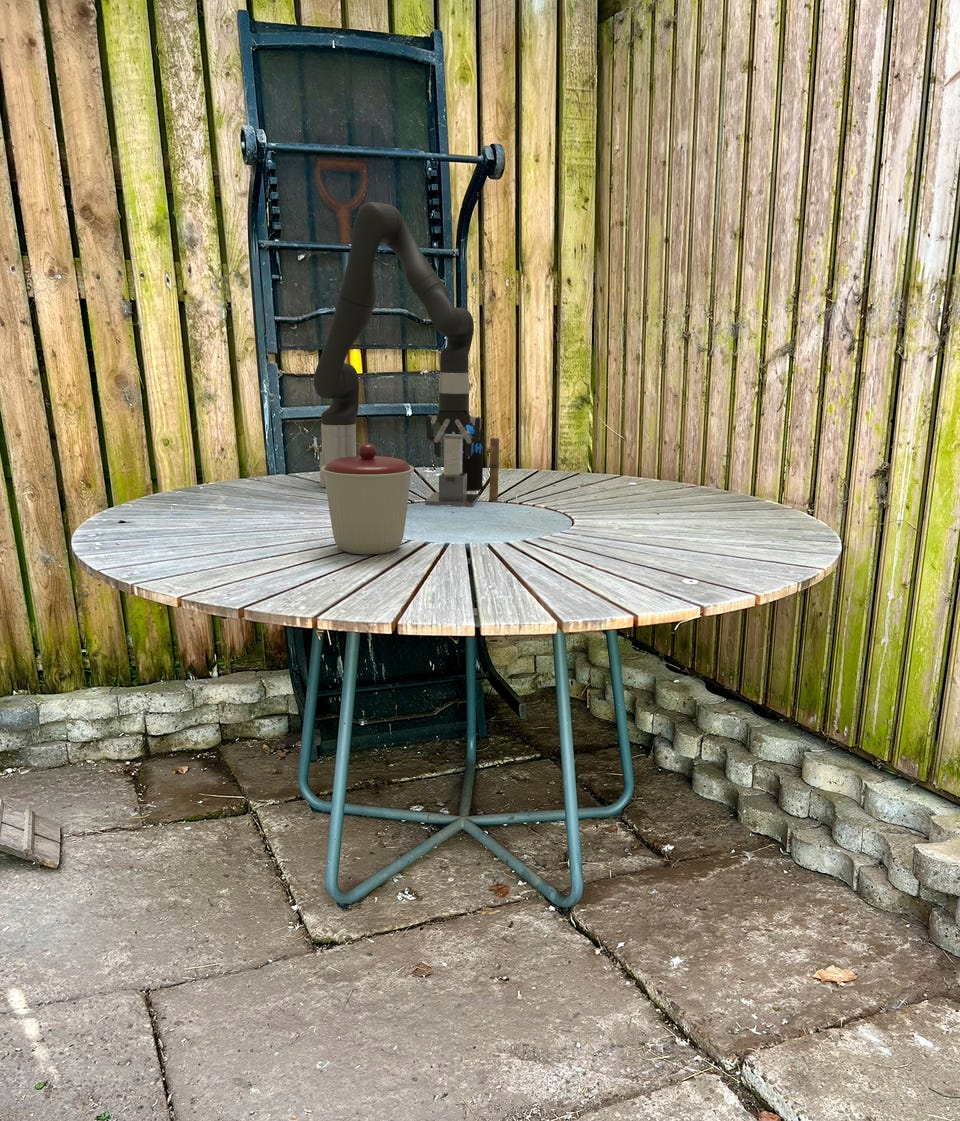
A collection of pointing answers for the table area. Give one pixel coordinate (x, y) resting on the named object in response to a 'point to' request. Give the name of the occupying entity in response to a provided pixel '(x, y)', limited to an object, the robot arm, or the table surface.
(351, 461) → the canister
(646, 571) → the table surface
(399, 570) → the table surface
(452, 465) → the grey-green long block
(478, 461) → the aerosol can
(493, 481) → the banded wooden rod
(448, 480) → the stand base
